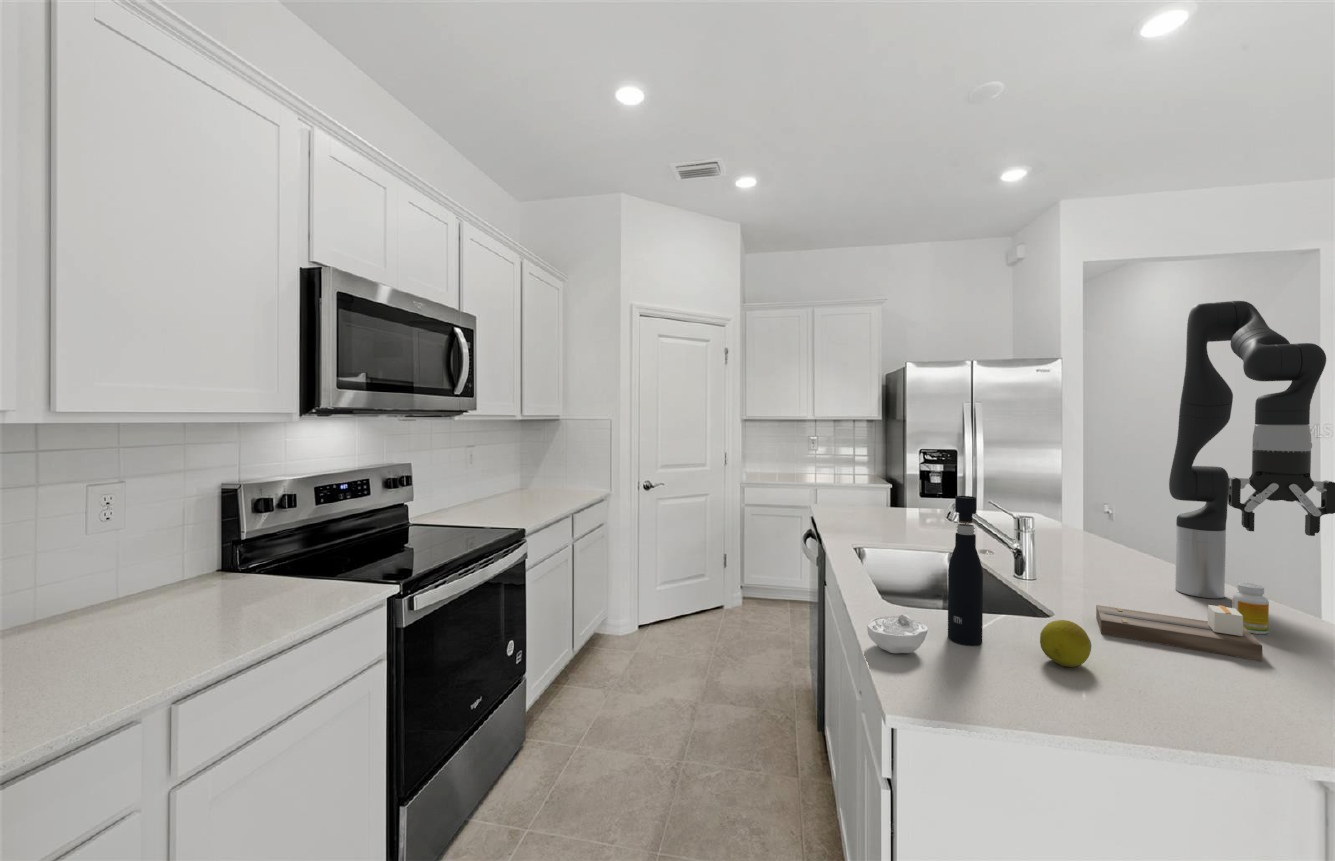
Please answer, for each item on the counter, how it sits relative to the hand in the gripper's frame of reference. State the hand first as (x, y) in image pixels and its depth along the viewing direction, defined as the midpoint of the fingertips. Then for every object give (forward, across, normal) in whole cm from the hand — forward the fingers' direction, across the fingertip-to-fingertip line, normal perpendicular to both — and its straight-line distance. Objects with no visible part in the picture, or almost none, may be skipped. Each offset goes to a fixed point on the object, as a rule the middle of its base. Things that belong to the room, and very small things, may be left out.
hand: (1279, 532), depth 106 cm
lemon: (+24, +34, +27) cm, 50 cm away
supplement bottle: (+24, 0, -14) cm, 28 cm away
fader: (+21, +7, 0) cm, 22 cm away
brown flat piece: (+24, +15, 0) cm, 28 cm away
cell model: (+24, +62, +38) cm, 77 cm away
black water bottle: (+24, +51, +25) cm, 62 cm away
